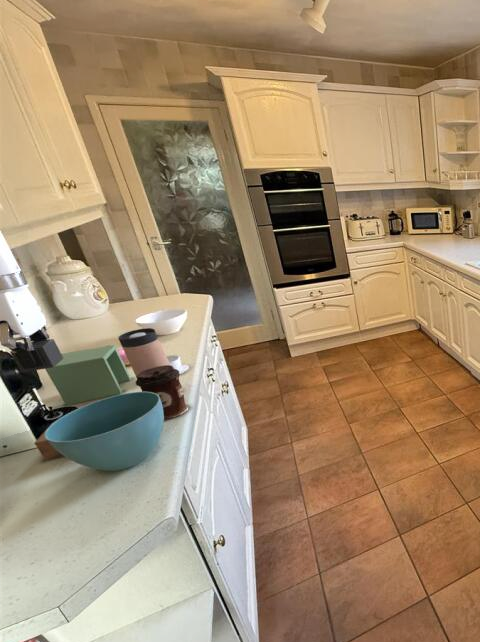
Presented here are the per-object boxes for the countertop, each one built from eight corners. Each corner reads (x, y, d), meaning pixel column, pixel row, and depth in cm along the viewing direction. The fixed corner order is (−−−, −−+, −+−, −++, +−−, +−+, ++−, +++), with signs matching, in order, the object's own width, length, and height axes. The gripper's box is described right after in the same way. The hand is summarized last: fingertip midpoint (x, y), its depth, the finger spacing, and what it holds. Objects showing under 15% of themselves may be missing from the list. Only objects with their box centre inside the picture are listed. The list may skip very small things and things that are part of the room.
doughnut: (150, 362, 134) (145, 351, 133) (108, 370, 130) (102, 359, 128) (159, 350, 143) (154, 340, 142) (120, 357, 139) (115, 346, 137)
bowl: (154, 327, 165) (147, 311, 162) (198, 322, 169) (193, 306, 166) (133, 342, 151) (126, 325, 148) (182, 336, 155) (176, 320, 152)
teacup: (181, 363, 133) (176, 351, 131) (195, 370, 129) (190, 357, 127) (144, 376, 126) (138, 363, 124) (158, 384, 121) (152, 370, 119)
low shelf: (45, 460, 90) (34, 443, 88) (62, 438, 97) (52, 422, 95) (114, 443, 95) (104, 426, 93) (125, 423, 102) (117, 407, 100)
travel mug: (141, 401, 112) (110, 337, 104) (169, 387, 119) (142, 326, 110) (160, 405, 110) (130, 340, 102) (187, 391, 116) (161, 329, 108)
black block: (21, 372, 85) (9, 351, 83) (33, 363, 89) (22, 343, 87) (53, 367, 87) (42, 346, 85) (63, 358, 91) (53, 338, 89)
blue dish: (91, 500, 78) (61, 452, 74) (60, 470, 87) (31, 424, 82) (194, 447, 93) (174, 403, 88) (158, 425, 101) (139, 384, 96)
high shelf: (66, 405, 111) (44, 368, 106) (80, 389, 119) (60, 353, 114) (121, 393, 116) (103, 357, 111) (131, 378, 124) (114, 344, 119)
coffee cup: (175, 422, 102) (155, 379, 97) (144, 423, 102) (122, 379, 97) (200, 403, 110) (183, 362, 105) (171, 404, 110) (153, 363, 105)
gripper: (-4, 276, 86) (37, 351, 93) (-59, 297, 72) (-6, 383, 79) (44, 271, 89) (80, 344, 96) (0, 290, 75) (46, 374, 82)
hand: (41, 361), depth 88 cm, fingers closed on black block, 5 cm apart
